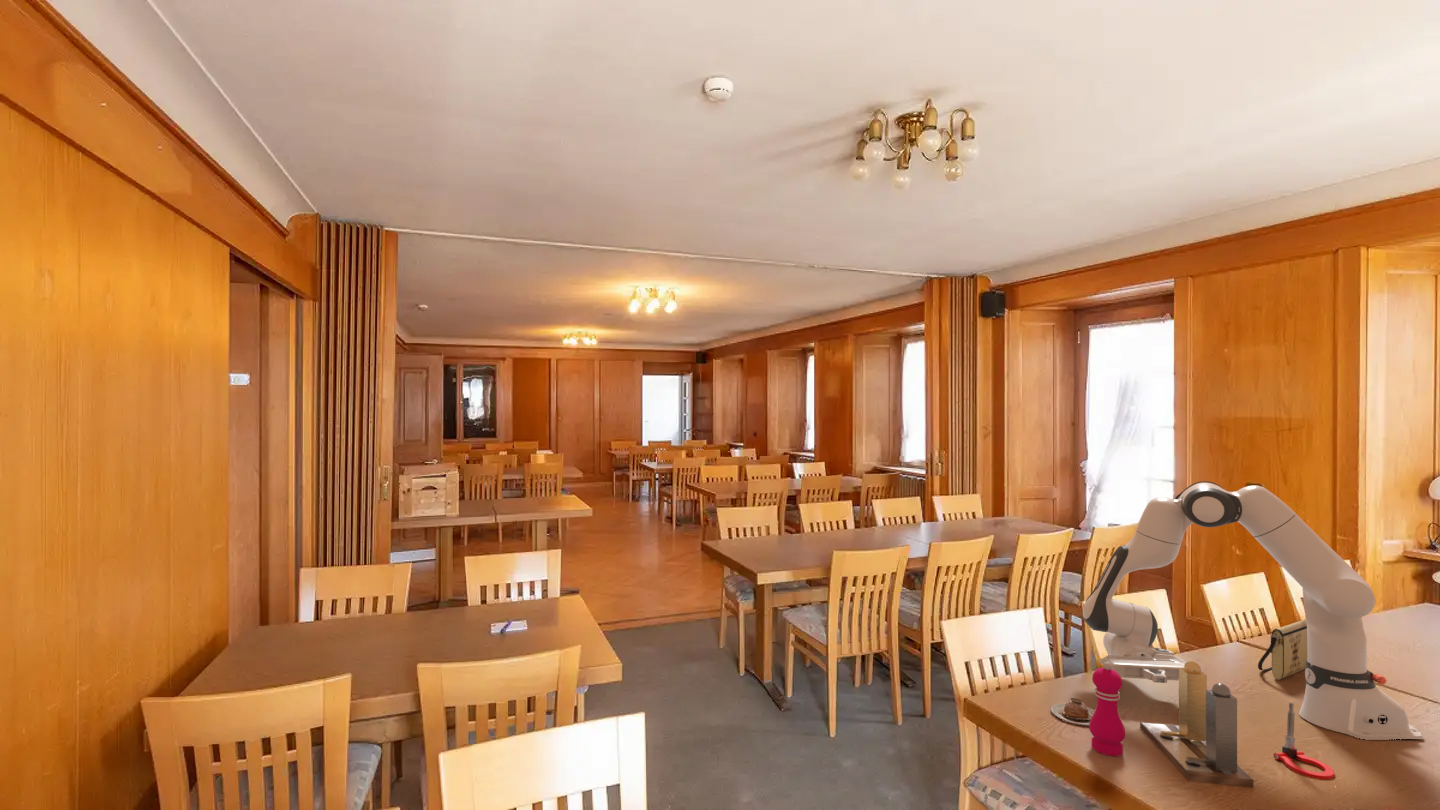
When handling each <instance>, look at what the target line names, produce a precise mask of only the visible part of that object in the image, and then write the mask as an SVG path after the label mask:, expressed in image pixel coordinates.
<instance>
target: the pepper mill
mask: <svg viewBox="0 0 1440 810" xmlns="http://www.w3.org/2000/svg"><path fill="white" fill-rule="evenodd" d="M1111 668H1112V666H1111V664H1110V663H1109V662H1104V663H1103V664H1102V667H1099V668H1097V669H1095V670H1094V672H1093V673H1092V677H1091V679H1092V680H1091V681H1092V683H1093V684H1094V685H1095V688H1094V691H1095V692H1094V695H1095V696H1096V700H1097V701H1096V707H1095V709H1094V710H1095V712H1094V714H1093V716H1091V719H1090V720H1089V723H1090V725H1088V726H1089V732H1090V734H1091V736H1093V737H1092V738H1091V747H1092V749H1093V750H1094V751H1096V752H1098V753H1099V754H1102V755H1106V756H1110V757H1120V756H1122V755H1123V754H1124V744H1123V743H1122V742H1123V741H1124V740H1125V738H1126V728H1125V725H1124V724H1123V721H1122V718H1121V717H1120V715H1119V710H1118V701H1119V700H1120V699H1121V697H1120V694H1121V693H1120V690H1121V689H1122V687H1123V679H1122V678H1123V677H1120V675H1119V674H1118V673H1117V672H1116V671H1114V670H1112V669H1111Z"/></svg>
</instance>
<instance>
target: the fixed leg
mask: <svg viewBox="0 0 1440 810" xmlns="http://www.w3.org/2000/svg"><path fill="white" fill-rule="evenodd" d="M1231 692H1232V691H1231V690H1230V688H1229V687H1228V686H1227V685H1226V684H1224V683H1221V682H1219V683H1215V684H1213V685H1212V687H1211V689H1207V690H1206V759H1204V758H1193V757H1186V761H1187V762H1188V763H1194V764H1205V765H1211V766H1212V767H1213V768H1214V769H1215V770H1216V771H1224V772H1235V773H1237V765H1238V698H1237V697H1236V696H1234V695H1232V694H1231Z"/></svg>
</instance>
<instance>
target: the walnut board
mask: <svg viewBox="0 0 1440 810" xmlns="http://www.w3.org/2000/svg"><path fill="white" fill-rule="evenodd" d="M1142 723H1147V722H1144V721H1140V723H1139V728H1141V729H1140V730H1141V731H1142V732H1143V733H1144V734H1145V735H1146V736H1147V737H1148V738H1149V739H1150V740H1151V742H1152V743H1153V744H1154V745H1155V746H1156V747H1157V748H1158V749H1159V750H1160V751H1161V753H1162V754H1163V755H1164V756H1166V758H1167V759H1168V760H1169V761H1170V762H1171V763H1172V764H1173V765H1174V766H1175V767H1176V768H1177V770H1178V771H1180V773H1181V774H1182V775H1183V776H1184V777H1185V778H1186V779H1187V780H1188V782H1198V783H1206V784H1207V783H1208V784H1216V785H1217V784H1219V785H1228V786H1229V785H1230V786H1239V787H1240V786H1241V787H1247V788H1248V787H1250V788H1251V787H1252V788H1254V787H1255V786H1254V781H1255V780H1254V778H1252V777H1251V776H1250V775H1249V773H1247V772H1246V771H1245V770H1243V769H1242V768H1241V767H1240V766H1239V765H1238V764H1237V773H1235V772H1231V773H1232V774H1233V775H1225V774H1224V773H1223V772H1222V771H1216V770H1215V769H1214V768H1213V767H1212V766H1211V765H1206V766H1207V767H1208V768H1209V769H1210V770H1211V771H1212V772H1213V774H1211V773H1201V772H1190V771H1186V770H1185V769H1184V768H1183V767H1182V766H1181V765H1180V763H1179V762H1178V761H1177V760H1176V759H1175V758H1174V757H1173V756H1172V755H1171V754H1170V753H1169V752H1168V751H1167V750H1166V749H1165V748H1164V747H1163V746H1162V745H1161V743H1160V742H1159V741H1158V740H1157V739H1156V738H1155V737H1154V736H1153V735H1152V734H1151V733H1150V732H1149V731H1148V730H1147V729H1146V728H1145V727H1144V726H1143V724H1142ZM1151 723H1152V724H1159V723H1157V722H1151ZM1163 724H1164V725H1166V726H1167V727H1168V728H1169V729H1170V730H1171V731H1172V732H1179V730H1178V729H1177V728H1176V727H1175V726H1179V724H1167V723H1163ZM1178 738H1179V739H1180V740H1181V741H1182V742H1183V743H1184V744H1185V745H1186V746H1187V747H1188V748H1189V749H1190V750H1191V751H1192V752H1193V753H1194V754H1195V755H1196V756H1197V757H1198V758H1204V759H1206V756H1205V755H1204V754H1203V753H1202V752H1201V751H1200V750H1199V749H1197V748H1196V747H1195V746H1194V745H1193V744H1192V743H1191V742H1190V741H1189V740H1187V739H1186V738H1185V737H1178ZM1197 741H1198V742H1199V743H1200V744H1201V745H1202V746H1203V747H1205V748H1206V741H1199V740H1197Z"/></svg>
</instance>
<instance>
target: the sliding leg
mask: <svg viewBox="0 0 1440 810" xmlns="http://www.w3.org/2000/svg"><path fill="white" fill-rule="evenodd" d="M1186 662H1187V663H1186V664H1185V665H1184V668H1180V667H1179V681H1178V725H1179V732H1168V731H1161V734H1162V735H1163V736H1175V737H1185V738H1186V739H1187V740H1199V741H1206V690H1208V685H1207V684H1208V683H1207V682H1208V681H1207V680H1208V679H1207V678H1208V675H1207V674H1206V673H1204V672H1203V671H1202V668H1201V666H1200V665H1199V663H1197V662H1196V661H1193V660H1191V661H1190V660H1189V661H1186Z"/></svg>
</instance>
